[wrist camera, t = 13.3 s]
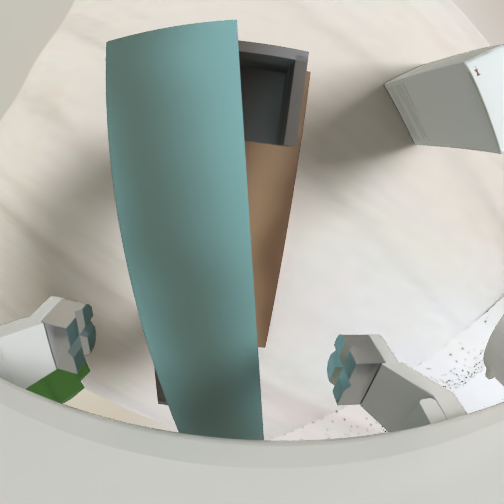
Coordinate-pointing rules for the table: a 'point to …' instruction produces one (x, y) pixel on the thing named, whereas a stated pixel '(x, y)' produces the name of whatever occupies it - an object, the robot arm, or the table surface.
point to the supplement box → (455, 101)
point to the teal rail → (188, 219)
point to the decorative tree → (60, 384)
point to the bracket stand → (269, 161)
